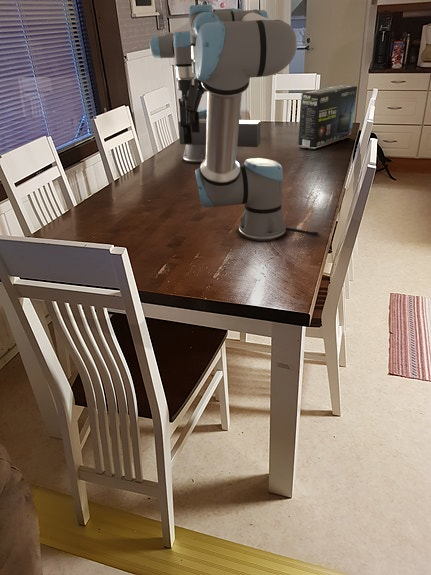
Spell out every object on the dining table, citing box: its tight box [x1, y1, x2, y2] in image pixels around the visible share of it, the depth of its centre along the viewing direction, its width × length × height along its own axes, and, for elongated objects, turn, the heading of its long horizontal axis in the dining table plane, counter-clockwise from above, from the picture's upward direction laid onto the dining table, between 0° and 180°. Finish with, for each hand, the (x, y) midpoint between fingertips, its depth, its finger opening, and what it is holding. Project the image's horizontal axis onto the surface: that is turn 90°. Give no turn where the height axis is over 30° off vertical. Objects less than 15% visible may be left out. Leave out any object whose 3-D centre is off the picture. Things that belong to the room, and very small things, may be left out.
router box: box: [297, 84, 358, 151], centre depth 238 cm, size 36×11×27 cm, turn 134°
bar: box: [177, 119, 261, 148], centre depth 178 cm, size 31×6×8 cm, turn 73°
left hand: (190, 141), depth 184 cm, fingers closed on bar, 6 cm apart
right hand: (206, 128), depth 160 cm, fingers open, 13 cm apart
